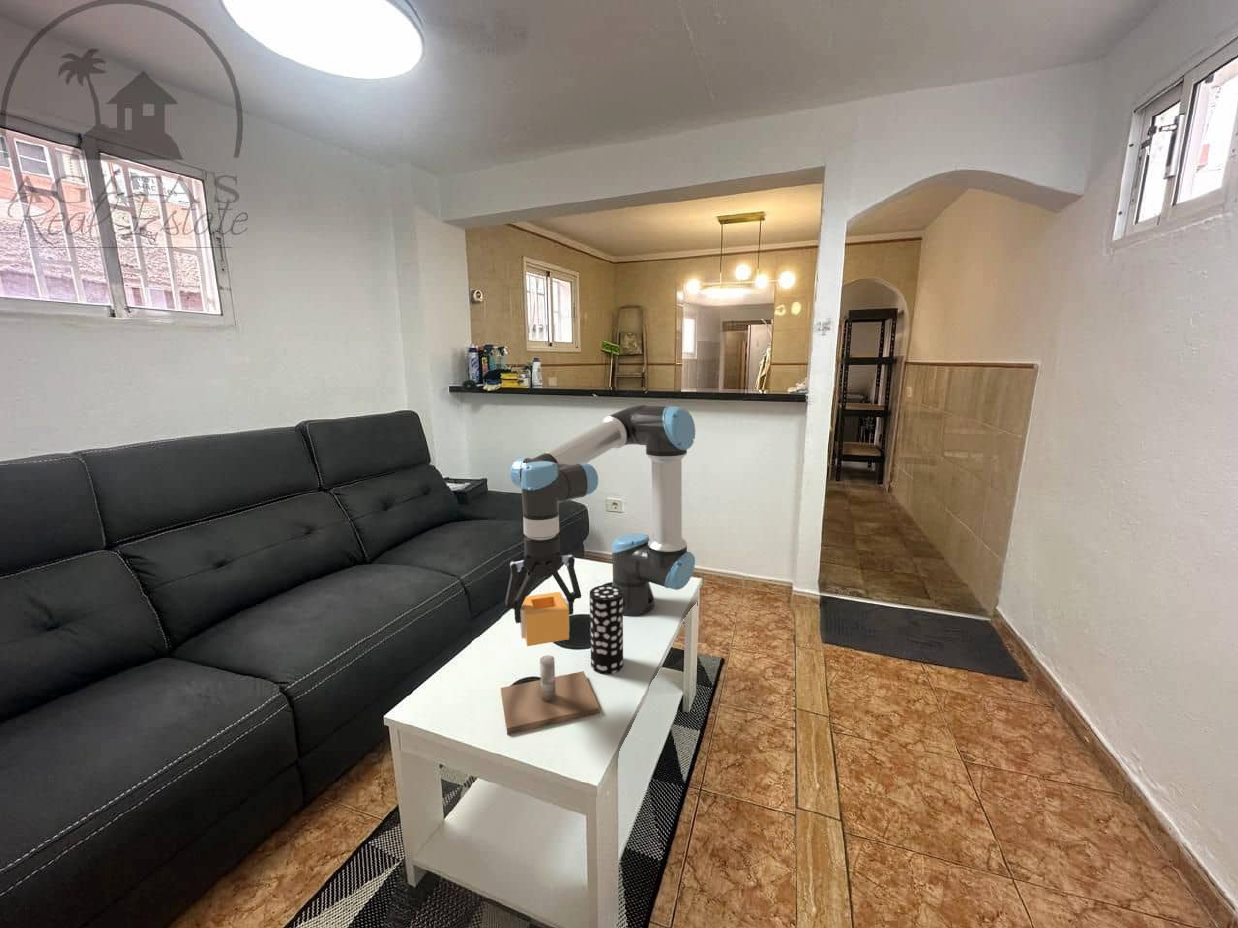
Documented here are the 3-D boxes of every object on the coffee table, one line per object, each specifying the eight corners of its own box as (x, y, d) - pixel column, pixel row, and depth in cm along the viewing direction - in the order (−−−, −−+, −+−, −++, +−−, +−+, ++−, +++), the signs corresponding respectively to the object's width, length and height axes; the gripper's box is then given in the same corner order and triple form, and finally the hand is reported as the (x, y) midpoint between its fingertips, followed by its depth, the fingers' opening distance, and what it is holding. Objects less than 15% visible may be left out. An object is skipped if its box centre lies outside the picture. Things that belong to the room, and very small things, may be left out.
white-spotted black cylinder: (599, 677, 120) (598, 602, 117) (585, 660, 128) (584, 589, 124) (628, 668, 124) (628, 595, 121) (614, 652, 131) (613, 582, 128)
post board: (583, 676, 121) (582, 635, 119) (599, 713, 108) (598, 668, 106) (501, 693, 115) (498, 650, 113) (507, 734, 102) (504, 687, 100)
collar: (560, 619, 114) (560, 591, 113) (569, 639, 106) (568, 608, 104) (521, 625, 111) (520, 597, 110) (527, 646, 103) (525, 615, 102)
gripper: (586, 524, 111) (588, 616, 115) (488, 534, 104) (493, 631, 109) (595, 534, 104) (596, 631, 108) (490, 545, 97) (496, 648, 101)
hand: (545, 631), depth 108 cm, fingers closed on collar, 9 cm apart
